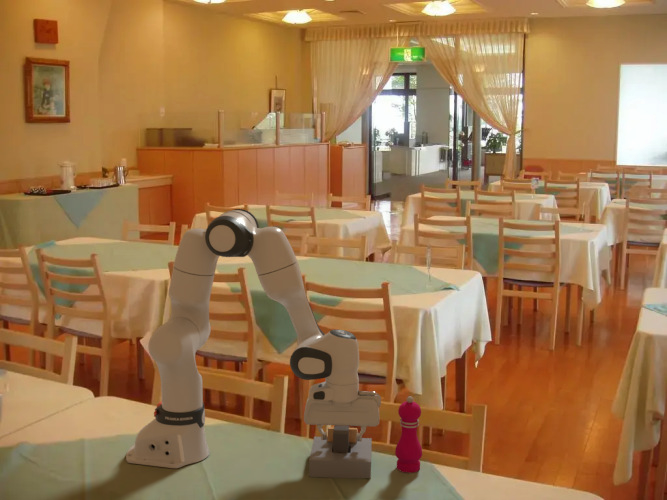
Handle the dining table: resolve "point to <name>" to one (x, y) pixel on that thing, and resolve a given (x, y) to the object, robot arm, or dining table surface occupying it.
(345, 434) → the plug
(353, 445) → the socket block
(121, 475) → the dining table surface
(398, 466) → the pepper mill
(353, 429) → the block
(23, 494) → the dining table surface
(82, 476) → the dining table surface
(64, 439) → the dining table surface
